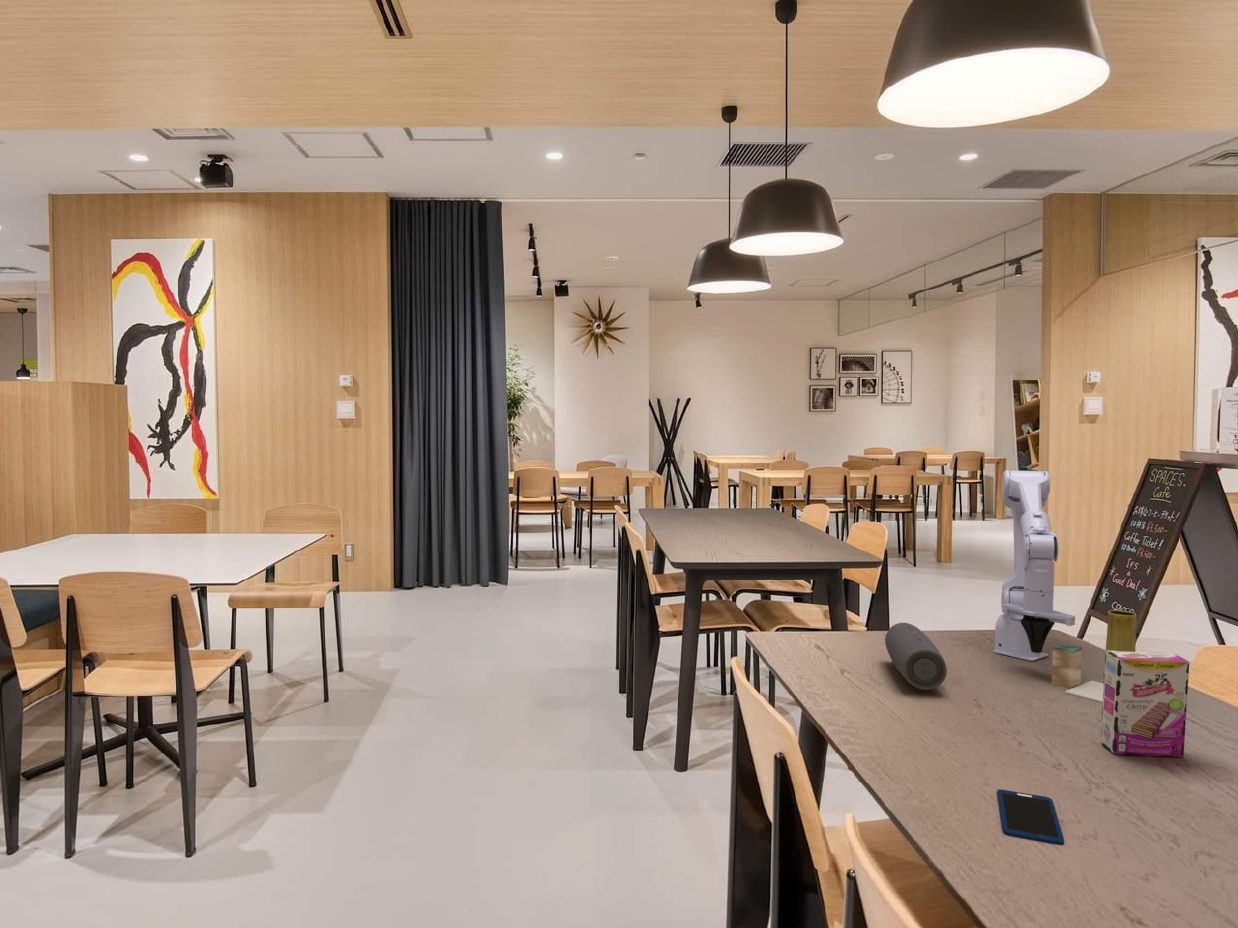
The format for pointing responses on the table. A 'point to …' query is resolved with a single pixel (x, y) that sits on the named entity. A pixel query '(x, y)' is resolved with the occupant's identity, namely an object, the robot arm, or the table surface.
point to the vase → (1121, 631)
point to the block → (1066, 665)
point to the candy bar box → (1144, 703)
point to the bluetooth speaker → (915, 656)
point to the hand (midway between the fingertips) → (1036, 651)
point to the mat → (1088, 691)
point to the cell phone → (1029, 817)
